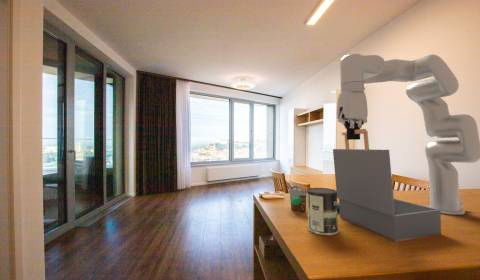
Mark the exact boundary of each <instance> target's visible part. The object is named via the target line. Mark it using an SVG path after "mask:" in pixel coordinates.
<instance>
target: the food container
mask: <svg viewBox="0 0 480 280" xmlns="http://www.w3.org/2000/svg"><path fill="white" fill-rule="evenodd" d="M288 194H289V199H290V208H291V209H290V210H292V212H296V213H307V190H302V189H301V188H298V185H295V186H293V185H292V186H289V189H288Z"/></svg>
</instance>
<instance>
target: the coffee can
mask: <svg viewBox="0 0 480 280" xmlns="http://www.w3.org/2000/svg"><path fill="white" fill-rule="evenodd" d="M306 192H307V196H306V203H307V230H308V231H309V232H311V233H313V234H317V235H321V236H336V235H338V233H339V224H338V223H339V220H338V214H339V213H337V202H338V198H337V191H336V189H334V188H327V187H326V188H325V187H309V188H307V189H306Z"/></svg>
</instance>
